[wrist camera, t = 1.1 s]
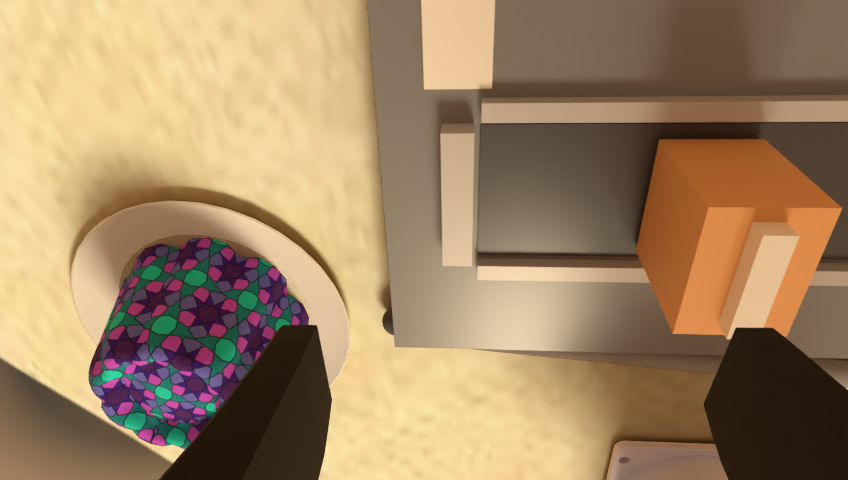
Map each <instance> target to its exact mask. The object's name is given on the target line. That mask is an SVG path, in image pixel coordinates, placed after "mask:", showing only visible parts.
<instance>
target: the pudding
mask: <svg viewBox="0 0 848 480" xmlns="http://www.w3.org/2000/svg"><path fill="white" fill-rule="evenodd" d="M189 234H191V235H204V236H212V237H216V238H221V239H225V240H229V241H231V242H234V243H237V244H240V245H242V246H245V247H247V248H249V249H251V250H253V251H255V252H257V253H259V254H260V255H262V256H264V257H265V258H266V259H268V260H269V261H271V262H272V263H274V264H275V265H276V266H277V267H279V268H280V269H281V270H282V271H283V272H284V273H285V274H286V275H287V276H288V277H289V278H290V279H291V280H292V282H293V283H294V284H295V286H296V287H297V288H298V289H299V291H300V293H301V294H302V296H303V298H304V300H305V302H306V304H307V307H308V310H309V313H310V317H311V325H317V327H318V332H319V337H320V342H321V347H322V352H323V357H324V362H325V367H326V372H327V377H328V383H329V388H330V387H331V386H332V384H333V383H334V382H335V381H336V379H337V378H338V377H339V376H340V374H341V372H342V370H343V368H344V366H345V364H346V361H347V359H348V354H349V349H350V344H351V338H350V323H349V319H348V316H347V312H346V308H345V305H344V303H343V301H342V299H341V297H340V295H339V293H338V291H337V289H336V287H335V285H334V284H333V282H332V281H331V280H330V278H329V277H328V276H327V274H326V273H325V272H324V270H323V269H322V268H321V266H320V265H319V264H318V263H317V262H316V261H315V260H314V259H313V258H312V257H311V256H310V255H308V254H307V253H306V252H305V251H304V250H303V249H302V248H301V247H300V246H298V245H297V244H296V243H294V242H293V241H291V240H290V239H289V238H287V237H286V236H285V235H283V234H282V233H280V232H279V231H277V230H275V229H273V228H271V227H269V226H267V225H266V224H264V223H262V222H260V221H258V220H256V219H254V218H251V217H249V216H246V215H243V214H241V213H238V212H235V211H233V210H230V209H227V208H222V207H218V206H213V205H209V204H204V203H200V202H186V201H161V202H150V203H144V204H140V205H137V206H133V207H129V208H126V209H122V210H121V211H119V212H117V213H115V214H113V215H111V216H109V217H107V218H105V219H103V220H102V221H101V222H100V223H99V224H97V225H96V226H95V227H94V228H93V229H92V230H91V231H89V232H88V233H87V235H86V236H85V238H84V239H83V241H82V242H81V244H80V245H79V247H78V248H77V251H76V254H75V257H74V260H73V263H72V266H71V282H70V285H71V291H72V297H73V302H74V305H75V308H76V310H77V313H78V316H79V318H80V321H81V323H82V324H83V326H84V328H85V329H86V331H87V333H88V334H89V336H90V337H91V339H92V340H93V342H94V343H95V344H96V345H97V346H98V347H97V349H96V351H95V354H94V356H93V359H92V362H91V365H90V368H89V383H90V386H91V389H92V391H93V392H94V394H95V395H96V396H97V397H99V398H100V399H101V400H102V406H101V408H102V409H103V411H104V412H105V414H106V415H107V416H108V418H109V419H110V420H112V421H113V422H114V423H116V424H117V425H118V426H121V427H124V428H128V429H131V430H133V431H134V432H135V434H136V435H137V436H138V437H139V438H140V439H142V440H144V441H146V442H148V443H150V444H155V445H159V446H166V445H172V444H173V445H176V446H178V447H181V448H183V449H186V448H187V447H188V446H189V445H190V443H191V442H192V441H193V440H194V439H195V438H196V437H197V435H198V434H199V433H200V432H201V430H202V429H203V428H204V427H205V426H206V424H207V423H208V422H209V421H210V419H211V418H212V417H213V416H214V414H215V413H216V412H217V411H218V409H219V408H220V407H221V406H222V404H223V403H224V402H225V400H226V399H227V398H228V397H229V395H230V394H231V393H232V392H233V390H234V389H235V388H236V386H237V385H238V384H239V382H240V381H241V380H242V378H243V377H244V376H245V374H246V373H247V372H248V371H249V369H250V368H251V366H252V365H253V364H254V362H255V361H256V360H257V358H258V357H259V355H260V354H261V353H262V351H263V350H264V349H265V347H266V346H267V344H268V343H269V342H270V340H271V339H272V337H273V336H274V335H275V333H276V332H277V330H278V329H279V328H280V327H281V326H283V325H308V322H309V316H308V314H307V312H306V310H305V308H304V306H303V304H302V303H300V302H298V301H297V300H295V299H294V298H292V297H291V296H289V295H288V294H287V284H286V279H285V277H284V276H283V275H282V274H281V273H280V272H279V271H278V269H277V268H276V267H274V266H273V265H271V264H269V263H267V262H266V261H264V260H262V259H260V258H247V257H240V256H239V255H238V254H237V253H236V252H235V251H234V250H233V249H231V248H230V247H229V246H228V245H227V244H226V243H223V242H220V241H217V240H214V239H210V238H191V239H190V240H189V241H188V242H187V243H186V244H184V245H183V246H182V247H181V248H176V247H172V246H168V245H164V244H157V245H154V246H151V247H148V248H146V249H145V250H144V251H143V252H142V253H141V254H140V255H139V256H138V257H137V259H136V262H135V264H134V267H133V269H132V271H131V274H130V276H129V277H128V278H126V279H125V280H124V282H123V285H122V287H121V290H120V292H119V287H120V279H121V275H122V272H123V270H124V267H125V265H126V264H127V262H128V261H129V260H130V258H131V257H132V256H133V255H134V254H135V253H136V252H137V251H139V250H140V249H141V248H142V247H144V246H146V245H148V244H150V243H152V242H154V241H156V240H159V239H163V238H166V237H170V236H177V235H189Z"/></svg>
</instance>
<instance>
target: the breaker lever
mask: <svg viewBox="0 0 848 480" xmlns="http://www.w3.org/2000/svg"><path fill="white" fill-rule="evenodd" d="M841 210H842V207H841V206H840V205H838V204H837V203H836V202H835V201H834V200H833V199H832V198H830V197H829V196H828V195H827V194H826V193H825V192H824V191H823V190H821V189H820V188H819V187H818V186H817V185H816V184H815V183H814V182H812V181H811V180H810V179H809V178H808V177H807V176H806V175H805V174H803V173H802V172H801V171H800V170H799V169H798V168H797V167H796V166H794V165H793V164H792V163H791V162H790V161H789V160H788V159H786V158H785V157H784V156H783V155H782V154H781V153H780V152H779V151H777V150H776V149H775V148H774V147H773V146H772V145H771V144H770V143H768V142H767V141H766V140H765V139H659V143H658V148H657V153H656V158H655V162H654V167H653V172H652V177H651V181H650V186H649V191H648V196H647V200H646V205H645V210H644V214H643V219H642V224H641V229H640V233H639V238H638V243H637V248H636V252H637V254H638V256H639V259H640V261H641V263H642V265H643V268H644V270H645V272H646V274H647V277H648V279H649V281H650V283H651V286H652V288H653V290H654V292H655V295H656V297H657V299H658V301H659V304H660V306H661V308H662V310H663V313H664V315H665V317H666V319H667V322H668V324H669V326H670V328H671V331H672V333H673V334H701V335H725V337H726V339H731V338H732V336H733V333H734V331H735V328H774V329H775V330H776V331H778V332H779V333H780V334H781V335H783V336H787V335H788V333H789V331H790V328H791V326H792V324H793V321H794V319H795V317H796V314H797V312H798V310H799V307H800V305H801V303H802V301H803V298H804V296H805V294H806V291H807V289H808V287H809V284H810V282H811V280H812V277H813V275H814V273H815V270H816V268H817V266H818V264H819V261H820V259H821V257H822V254H823V252H824V250H825V247H826V245H827V243H828V240H829V238H830V236H831V233H832V231H833V229H834V227H835V224H836V222H837V220H838V217H839V215H840V213H841Z"/></svg>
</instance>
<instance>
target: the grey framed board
mask: <svg viewBox="0 0 848 480" xmlns="http://www.w3.org/2000/svg"><path fill="white" fill-rule="evenodd" d="M367 6H368V18H369V31H370V43H371V56H372V68H373V80H374V93H375V105H376V117H377V130H378V142H379V155H380V167H381V179H382V192H383V204H384V217H385V229H386V241H387V254H388V266H389V278H390V291H391V303H392V316H393V328H394V340H395V347H418V348H457V349H495V350H534V351H572V352H611V353H649V354H688V355H725V352H726V350H727V347H728V345H729V343H730V340H731V339H726V337H725V335H701V334H673V333H672V331H671V328H670V326H669V324H668V322H667V319H666V317H665V315H664V313H663V310H662V308H661V306H660V304H659V301H658V299H657V297H656V295H655V292H654V290H653V288H652V286H651V283H650V281H649V279H648V277H647V274H646V272H645V270H644V268H643V265H642V263H641V261H640V259H639V256H638V254H637V252H636V248H637V243H638V238H639V233H640V229H641V224H642V219H643V214H644V210H645V205H646V200H647V196H648V191H649V186H650V181H651V177H652V172H653V167H654V162H655V158H656V153H657V148H658V143H659V139H765V140H766V141H767V142H768V143H770V144H771V145H772V146H773V147H774V148H775V149H776V150H777V151H779V152H780V153H781V154H782V155H783V156H784V157H785V158H786V159H788V160H789V161H790V162H791V163H792V164H793V165H794V166H796V167H797V168H798V169H799V170H800V171H801V172H802V173H803V174H805V175H806V176H807V177H808V178H809V179H810V180H811V181H812V182H814V183H815V184H816V185H817V186H818V187H819V188H820V189H821V190H823V191H824V192H825V193H826V194H827V195H828V196H829V197H830V198H832V199H833V200H834V201H835V202H836V203H837V204H838V205H840V206H841V207H842V210H841V213H840V215H839V217H838V220H837V222H836V224H835V227H834V229H833V231H832V233H831V236H830V238H829V240H828V243H827V245H826V247H825V250H824V252H823V254H822V257H821V259H820V261H819V264H818V266H817V268H816V270H815V273H814V275H813V277H812V280H811V282H810V284H809V287H808V289H807V291H806V294H805V296H804V298H803V301H802V303H801V305H800V307H799V310H798V312H797V314H796V317H795V319H794V321H793V324H792V326H791V328H790V331H789V333H788V335H787V336H784V337H785V338H786V339H788V340H789V341H790V342H791V343H793V344H794V345H795V346H796V347H797V348H799V349H800V350H801V351H802V352H803V353H805V354H806V355H807V356H808V357H809V358H842V359H848V0H367Z"/></svg>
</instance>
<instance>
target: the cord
mask: <svg viewBox="0 0 848 480" xmlns="http://www.w3.org/2000/svg"><path fill="white" fill-rule="evenodd" d="M475 350H485V351H494V352H504V353H514V354H523V355H533V356H543V357H553V358H562V359H572V360H582V361H591V362H601V363H611V364H621V365H630V366H640V367H650V368H659V369H669V370H679V371H689V372H698V373H708V374H717V371H718V369H719V367H720V364H721V362H722V359H723V357H724V355H688V354H649V353H611V352H572V351H534V350H495V349H475ZM810 359H812V360H813V361H814V362H815V363H816V364H818V365H819V366H820V367H821V368H822V369H823V370H825V371H826V372H827V373H828V374H829V375H830V376H832V377H833V378H834V379H835V380H836V381H838V382H839V383H840V384H841V385H842V386H844V387H845V388H848V361H846V360H837V359H827V358H810Z"/></svg>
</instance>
